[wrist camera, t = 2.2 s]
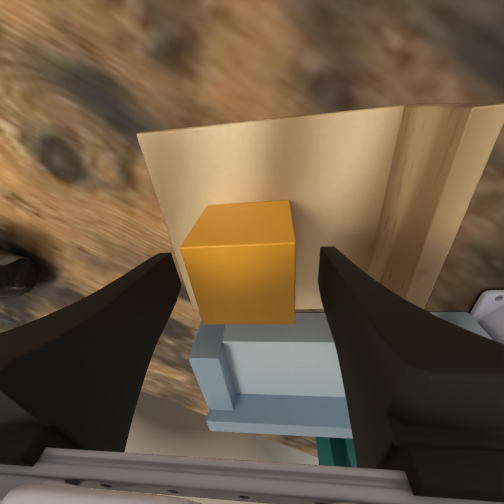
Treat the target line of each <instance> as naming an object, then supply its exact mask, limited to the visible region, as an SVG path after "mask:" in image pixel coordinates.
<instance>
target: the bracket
mask: <svg viewBox="0 0 504 504" xmlns="http://www.w3.org/2000/svg"><path fill="white" fill-rule="evenodd" d="M316 443H317V451H318V459H319V465H324V466H340V467H355V468H357V462H356V455H355V449H354V443H353V439H351V438H333V437H316Z"/></svg>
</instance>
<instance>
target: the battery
mask: <svg viewBox="0 0 504 504" xmlns="http://www.w3.org/2000/svg"><path fill="white" fill-rule="evenodd" d="M37 272H38V270H37V267H36V266H35V265H34V264H33V262H32V261H31V258H27V257H23V256H20V255H17V254H13V253H10V252H6V251H3V250H0V299H3V298H10V297H16V296H20V295H23V294H24V293H27V292H29V291H30V290H31V289H32V288H33V287H34V286H35V284H36V280H37Z"/></svg>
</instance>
